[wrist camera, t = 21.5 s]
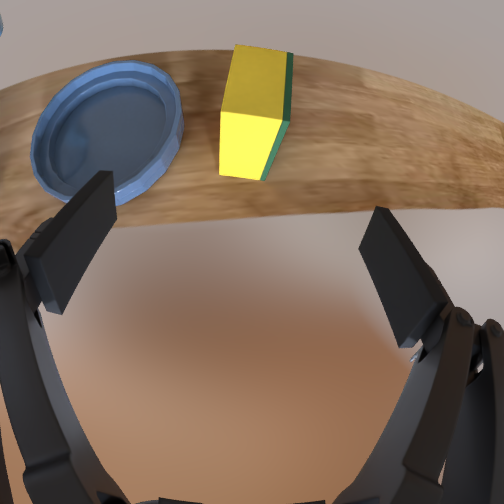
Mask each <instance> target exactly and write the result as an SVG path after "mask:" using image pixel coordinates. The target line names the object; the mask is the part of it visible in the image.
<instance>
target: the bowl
mask: <svg viewBox="0 0 504 504" xmlns="http://www.w3.org/2000/svg"><path fill="white" fill-rule="evenodd" d="M183 131H184V118H183V111H182V104H181V98H180V92H179V89H178V88H177V86H176V85H175V83H174V81H173V80H172V78H171V77H170V75H169V74H167V73H166V72H164V71H163V70H161V69H160V68H158V67H157V66H155V65H153V64H150V63H145V62H141V61H137V60H126V61H114V62H110V63H106V64H103V65H100V66H97V67H94V68H91V69H90V70H88V71H86V72H84V73H83V74H81V75H79V76H77V77H76V78H74V79H72V80H71V81H70V82H69V83H68V84H67V85H65V86H64V87H63V88H62V89H61V90H60V91H59V92H58V93H57V94H56V95H55V96H54V97H53V98H52V100H51V101H50V102H49V104H48V105H47V107H46V108H45V109H44V111H43V112H42V114H41V116H40V118H39V120H38V123H37V125H36V128H35V130H34V133H33V136H32V143H31V151H30V159H31V164H32V168H33V173H34V176H35V178H36V179H37V180H38V182H39V183H40V185H41V186H42V187H43V189H44V190H45V191H46V192H47V193H49V194H51V195H52V196H54V197H55V198H57V199H59V200H60V201H62V202H64V203H66V204H67V203H68V201H69V200H70V199H71V198H72V197H73V196H74V195H75V194H76V193H77V192H78V191H79V190H80V189H81V188H82V187H83V186H84V185H85V184H86V183H87V182H88V181H89V180H90V179H91V178H92V177H93V176H94V175H95V174H96V173H97V172H98V171H99V170H105V171H113V177H114V191H115V203H116V206H118V205H122V204H124V203H126V202H128V201H129V200H131V199H133V198H134V197H136V196H138V195H140V194H141V193H143V192H145V191H146V190H148V188H149V187H150V186H151V185H152V184H153V183H154V182H155V181H157V180H158V179H159V178H160V177H161V176H162V175H163V174H164V173H165V172H166V170H167V169H168V167H169V165H170V163H171V162H172V160H173V158H174V157H175V155H176V153H177V152H178V150H179V148H180V144H181V139H182V135H183Z"/></svg>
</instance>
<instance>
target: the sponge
mask: <svg viewBox="0 0 504 504" xmlns="http://www.w3.org/2000/svg"><path fill="white" fill-rule="evenodd" d="M292 76H293V53H289V52H283V51H278V50H272V49H266V48H259V47H252V46H245V45H235V48H234V52H233V57H232V61H231V65H230V70H229V74H228V79H227V84H226V88H225V93H224V98H223V103H222V108H221V117H220V155H219V175H226V176H234V177H242V178H249V179H257V180H263V181H265V179H266V176H267V174H268V172H269V169H270V167H271V165H272V162H273V160H274V158H275V155H276V153H277V151H278V148H279V146H280V144H281V141H282V139H283V137H284V135H285V132H286V130H287V128H288V125H289V123H290V114H291V96H292Z"/></svg>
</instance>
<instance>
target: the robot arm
mask: <svg viewBox="0 0 504 504" xmlns="http://www.w3.org/2000/svg"><path fill="white" fill-rule="evenodd" d="M2 31H3V23H2V19H1V15H0V36H1V34H2ZM116 220H117V213H116V203H115V191H114V177H113V171H105V170H99V171H98V172H97V173H96V174H95V175H94V176H93V177H92V178H91V179H90V180H89V181H88V182H87V183H86V184H85V185H84V186H83V187H82V188H81V189H80V190H79V191H78V192H77V193H76V194H75V195H74V196H73V197H72V198H71V199H70V200H69V201H68V203H67V204H66V205H65V206H64V207H63V208H62V209H61V210H60V211H59V212H58V213H57V215H56V216H55V217H54V218H49V219H48V220H46V221H45V222H43V223H42V224H41V225H40V226H39V227H38V228H37V229H36V230H35V233H33V234H32V235H31V236H30V239H28V240H27V241H26V242H25V244H24V245H23V246H22V247H21V248H20V250H19V251H18V252H17V254H16V255H15V254H14V251H13V248H12V246H11V243H10V241H8V240H7V239H1V240H0V384H1V388H2V393H3V397H4V401H5V405H6V409H7V412H8V416H9V419H10V423H11V426H12V429H13V432H14V435H15V438H16V440H17V444H18V446H19V449H20V452H21V454H22V457H23V459H24V462H25V466H26V469H25V471H24V473H23V482H24V485H25V488H26V490H27V492H28V494H29V497H30V499H31V501H32V503H33V504H131V503H130V502H129V501H128V499H127V498H126V496H125V495H124V493H123V492H122V490H121V489H120V488H119V486H118V485H117V484H116V482H115V481H114V480H113V479H112V478H111V477H110V475H109V474H108V473H107V472H106V471H105V469H104V468H103V466H102V465H101V463H100V461H99V459H98V457H97V456H96V454H95V452H94V450H93V449H92V447H91V445H90V443H89V441H88V439H87V437H86V435H85V433H84V431H83V429H82V427H81V425H80V423H79V421H78V419H77V417H76V414H75V412H74V410H73V408H72V405H71V403H70V401H69V398H68V396H67V393H66V391H65V389H64V386H63V384H62V381H61V378H60V376H59V373H58V370H57V367H56V364H55V361H54V359H53V355H52V352H51V349H50V346H49V343H48V339H47V336H46V332H45V329H44V325H43V321H42V317H41V314H40V312H39V310H38V307H39V305H40V303H41V301H42V302H43V304H44V306H45V308H46V311H48V312H52V313H56V314H60V315H62V314H63V312H64V310H65V308H66V306H67V304H68V302H69V300H70V298H71V296H72V295H73V293H74V291H75V289H76V287H77V285H78V283H79V281H80V280H81V278H82V276H83V274H84V272H85V271H86V269H87V267H88V265H89V264H90V262H91V260H92V259H93V257H94V255H95V253H96V252H97V250H98V248H99V247H100V245H101V244H102V242H103V240H104V239H105V237H106V236H107V234H108V232H109V231H110V229H111V228H112V226H113V225H114V223H115V221H116ZM359 251H360V253H361V255H362V258H363V260H364V262H365V264H366V266H367V269H368V271H369V273H370V276H371V278H372V280H373V283H374V285H375V287H376V290H377V292H378V295H379V297H380V300H381V302H382V305H383V307H384V310H385V312H386V315H387V317H388V320H389V322H390V325H391V328H392V330H393V333H394V336H395V338H396V341H397V344H398V347H399V348H410V347H413V346H414V345H415V344H416V343H417V342H418V340H419V339H420V338H421V340H422V343H423V346H422V347H421V348H420V349H419V350H418V351H417V352H416V353H415V354H414V356H413V357H412V358H411V359H410V362H412V361H413V360H414V359H415V362H414V365H413V367H412V369H411V372H410V374H409V377H408V379H407V382H406V384H405V387H404V389H403V392H402V394H401V396H400V398H399V400H398V402H397V404H396V407H395V409H394V411H393V413H392V415H391V417H390V419H389V421H388V423H387V425H386V427H385V429H384V431H383V433H382V435H381V436H380V438H379V440H378V442H377V444H376V446H375V447H374V449H373V451H372V453H371V455H370V456H369V458H368V459H367V461H366V463H365V464H364V466H363V468H362V469H361V471H360V473H359V474H358V476H357V477H356V479H355V480H354V482H353V483H352V484H351V485H350V486H348V487H347V488H346V489H345V490H344V491H342V492H341V493H340V494H339V496H338V497H337V498H336V499H335V501H334V502H333V503H332V504H504V330H503V329H502V327H501V325H500V324H499V323H498V322H496V321H495V320H493V319H487V321H486V322H485V323H484V324H483V325H482V326H480V325H477V324H474V321H473V319H472V317H471V316H470V314H469V313H468V312H467V311H466V310H464V309H462V308H460V307H455V306H454V304H453V303H452V301H451V299H450V297H449V296H448V294H447V292H446V290H445V289H444V287H443V286H442V284H441V282H440V281H439V280H438V277H437V275H436V274H435V272H434V270H433V269H432V268H431V267H430V266H429V265H428V264H427V263H426V262H425V261H424V260H423V258H422V257H421V255H420V254H419V252H418V251H417V249H416V248H415V246H414V245H413V243H412V242H411V240H410V239H409V237H408V236H407V234H406V233H405V231H404V230H403V229H402V227H401V226H400V224H399V223H398V221H397V220H396V219H395V217H394V216H393V214H392V213H391V212H390V210H389V209H388V208H383V207H379V206H376V207H375V210H374V213H373V215H372V217H371V220H370V222H369V225H368V227H367V230H366V232H365V235H364V237H363V239H362V241H361V244H360V246H359ZM482 363H483V364H484V365H483V369H482V370H481V371H480V372H479V373H478V370H477V368H478V367H479V366H480V365H481V364H482ZM445 459H446V462H445ZM444 462H445V468H444V473H443V479H442V484H441V485H440V484H439V483H438V478H439V475H440V472H441V470H442V468H443V465H444ZM0 504H14V503H13V498H12V494H11V488H10V484H9V479H8V475H7V470H6V465H5V459H4V453H3V446H2V438H1V429H0ZM136 504H202V503H195V502H186V501H179V500H172V499H166V498H160V497H159V500H151V501H145V502H140V503H136ZM295 504H325V500H322V501H315V502H305V503H295Z"/></svg>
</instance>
